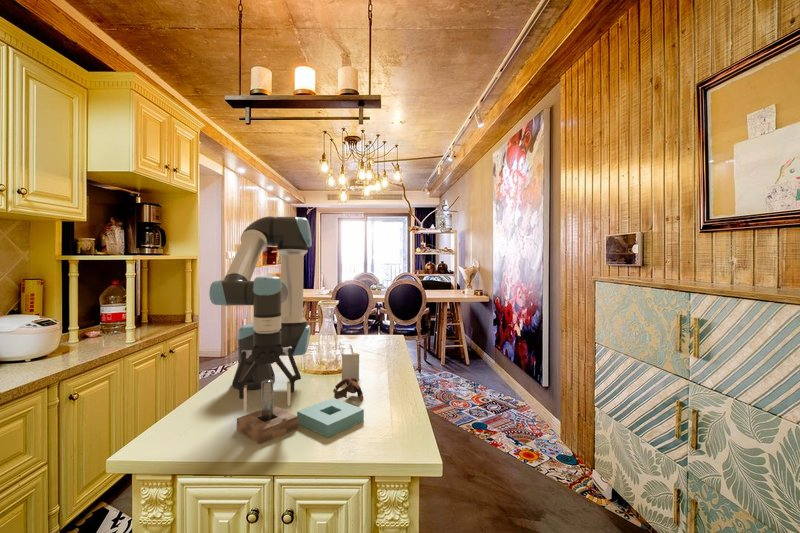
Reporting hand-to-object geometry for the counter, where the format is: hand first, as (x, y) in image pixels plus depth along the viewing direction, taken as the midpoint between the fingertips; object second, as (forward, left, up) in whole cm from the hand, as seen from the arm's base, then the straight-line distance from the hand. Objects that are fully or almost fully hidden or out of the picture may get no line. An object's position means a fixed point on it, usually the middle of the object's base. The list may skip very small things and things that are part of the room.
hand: (267, 406), depth 109 cm
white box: (-14, +46, -7) cm, 49 cm away
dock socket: (+10, +15, -7) cm, 19 cm away
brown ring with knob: (+1, +31, -7) cm, 32 cm away
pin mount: (0, 0, -7) cm, 7 cm away
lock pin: (0, 0, -7) cm, 7 cm away
